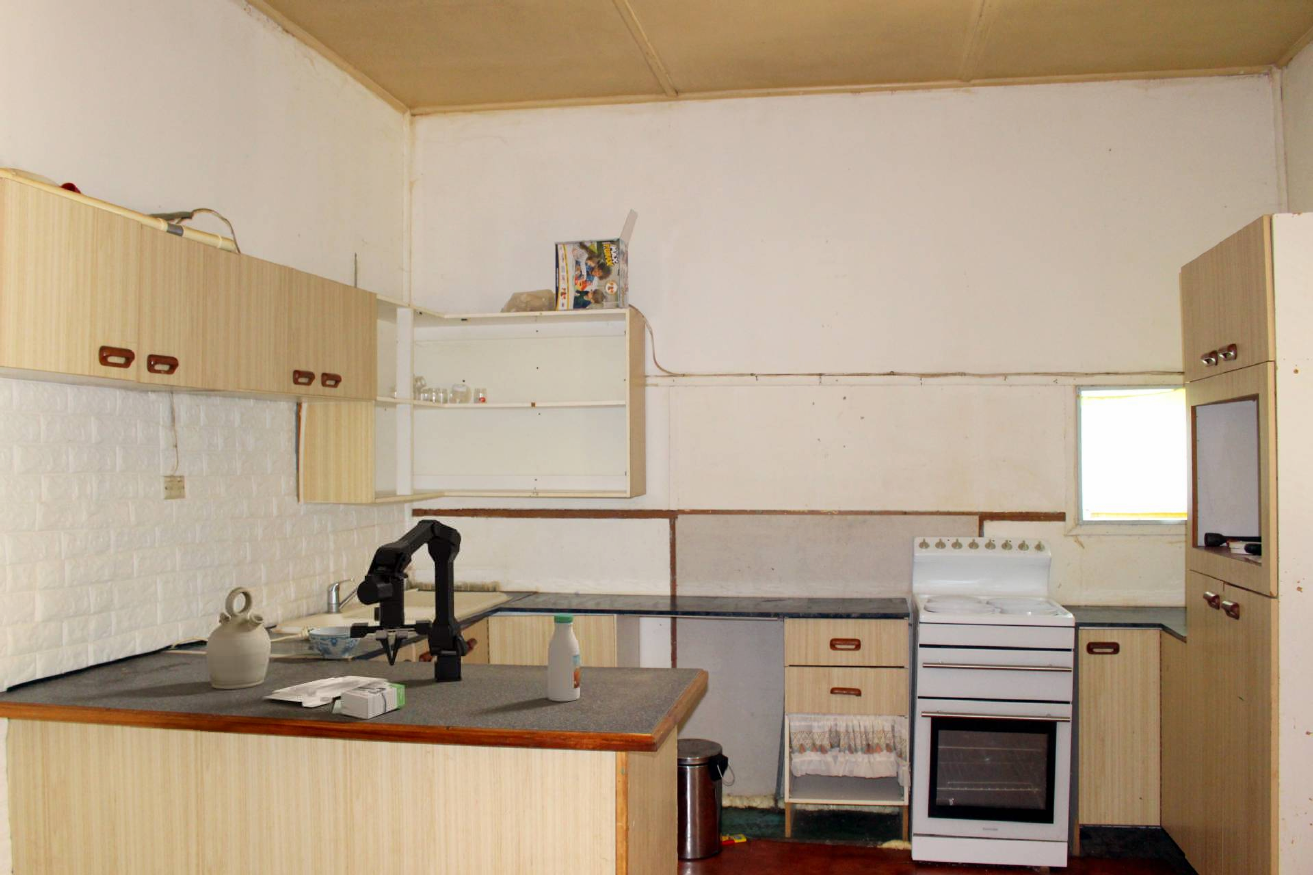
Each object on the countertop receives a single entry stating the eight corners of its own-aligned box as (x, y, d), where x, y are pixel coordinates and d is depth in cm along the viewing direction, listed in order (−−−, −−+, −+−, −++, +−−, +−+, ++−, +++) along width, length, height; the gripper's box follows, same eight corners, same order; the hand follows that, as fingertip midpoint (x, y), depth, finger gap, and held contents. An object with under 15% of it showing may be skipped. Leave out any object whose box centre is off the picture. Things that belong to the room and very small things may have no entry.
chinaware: (348, 649, 303) (348, 624, 304) (371, 656, 292) (371, 630, 293) (300, 656, 293) (300, 630, 294) (322, 663, 282) (322, 636, 282)
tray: (251, 700, 238) (252, 684, 238) (339, 682, 262) (339, 668, 262) (312, 707, 228) (313, 690, 228) (397, 687, 253) (397, 673, 253)
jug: (281, 683, 256) (281, 586, 256) (221, 693, 244) (221, 592, 245) (254, 675, 266) (255, 582, 267) (195, 684, 255) (196, 587, 255)
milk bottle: (566, 703, 232) (566, 618, 233) (541, 699, 236) (540, 615, 237) (586, 697, 239) (585, 614, 239) (560, 693, 243) (560, 611, 243)
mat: (388, 698, 238) (388, 696, 238) (387, 710, 226) (387, 708, 226) (336, 701, 235) (336, 699, 235) (332, 713, 224) (332, 711, 224)
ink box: (405, 684, 228) (367, 697, 218) (405, 706, 228) (367, 719, 218) (378, 679, 232) (339, 691, 222) (378, 700, 233) (339, 713, 222)
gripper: (431, 593, 244) (431, 656, 244) (353, 596, 240) (353, 660, 240) (432, 599, 233) (432, 665, 233) (349, 602, 229) (349, 670, 229)
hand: (391, 665), depth 234 cm, fingers closed
